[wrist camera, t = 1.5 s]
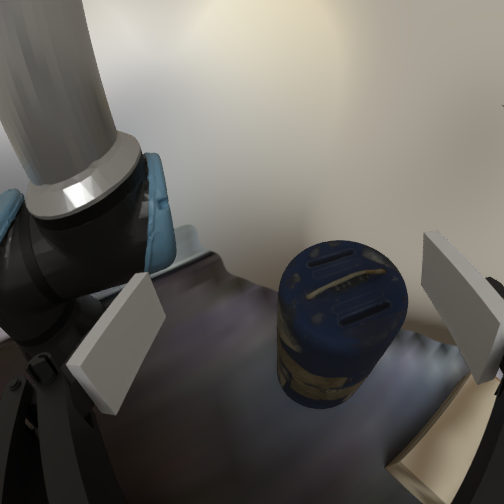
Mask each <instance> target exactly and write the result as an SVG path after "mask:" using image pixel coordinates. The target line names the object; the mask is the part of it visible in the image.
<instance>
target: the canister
mask: <svg viewBox="0 0 504 504" xmlns="http://www.w3.org/2000/svg"><path fill="white" fill-rule="evenodd" d="M407 308H408V294H407V289H406V285H405V282H404V280H403V278H402V276H401V274H400V272H399V271H398V269H397V268H396V266H395V265H394V264H393V263H392V262H391V261H390V260H389V259H388V258H387V257H385V255H383V254H382V253H380V252H379V251H377V250H375V249H373V248H371V247H369V246H366V245H364V244H361V243H357V242H352V241H343V240H336V241H328V242H322V243H319V244H316V245H314V246H311V247H309V248H307V249H305V250H304V251H302V252H301V253H299V254H298V255H297V256H296V257H295V258H294V259H293V260H292V261H291V262H290V263H289V265H288V266H287V268H286V270H285V271H284V273H283V275H282V278H281V281H280V286H279V292H278V318H277V345H278V349H277V350H278V353H277V372H278V378H279V381H280V384H281V386H282V388H283V390H284V391H285V393H286V394H287V395H288V396H289V397H290V398H291V399H292V400H294V401H295V402H297V403H299V404H301V405H303V406H305V407H308V408H314V409H326V408H331V407H334V406H337V405H339V404H341V403H343V402H344V401H346V400H347V399H349V398H350V397H351V396H352V395H353V394H354V393H355V391H356V390H357V389H358V388H359V386H360V385H361V384H362V383H363V381H364V380H365V379H366V378H367V376H368V375H369V374H370V372H371V371H372V370H373V368H374V367H375V365H376V363H377V362H378V361H379V359H380V358H381V357H382V355H383V354H384V352H385V351H386V350H387V348H388V347H389V345H390V344H391V342H392V341H393V340H394V338H395V337H396V335H397V334H398V332H399V330H400V328H401V326H402V325H403V323H404V320H405V317H406V314H407Z"/></svg>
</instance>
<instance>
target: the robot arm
mask: <svg viewBox="0 0 504 504" xmlns="http://www.w3.org/2000/svg"><path fill="white" fill-rule="evenodd" d="M0 121H1V123H2V125H3V127H4V129H5V132H6V134H7V136H8V138H9V140H10V142H11V144H12V146H13V148H14V150H15V152H16V154H17V156H18V158H19V160H20V162H21V164H22V166H23V168H24V170H25V172H26V173H27V175H28V177H29V179H30V182H29V185H28V189H27V192H26V197H25V200H24V195H23V194H22V193H20V191H19V190H18V189H9V190H7V191H5V192H3V193H2V194H0V327H1V328H2V329H3V330H4V331H5V332H6V333H7V334H8V335H9V336H10V337H11V338H12V339H13V340H14V341H15V342H16V343H17V344H18V345H19V347H20V349H21V351H22V353H23V354H24V356H25V358H26V360H27V362H28V364H27V366H26V371H27V372H28V374H29V375H30V376H31V378H32V379H33V380H34V382H35V383H30V382H29V381H28V380H27V378H26V377H25V376H24V375H17V376H14V377H12V378H11V379H10V380H9V382H8V383H7V384H6V386H5V389H4V392H3V395H2V398H1V401H0V504H126V502H125V500H124V497H123V495H122V492H121V490H120V488H119V485H118V483H117V480H116V477H115V475H114V472H113V469H112V467H111V464H110V461H109V458H108V455H107V452H106V449H105V446H104V443H103V440H102V437H101V433H100V430H99V427H98V423H97V420H96V416H95V414H94V412H93V411H92V410H91V409H92V407H93V405H94V404H95V405H96V406H97V408H98V409H99V410H100V411H101V413H105V414H111V415H117V413H118V411H119V409H120V407H121V405H122V403H123V400H124V398H125V396H126V394H127V392H128V390H129V388H130V386H131V384H132V382H133V380H134V378H135V376H136V374H137V372H138V370H139V368H140V366H141V364H142V362H143V360H144V358H145V356H146V355H147V353H148V351H149V349H150V347H151V345H152V343H153V341H154V339H155V337H156V335H157V333H158V331H159V329H160V328H161V326H162V324H163V322H164V320H165V318H166V315H165V313H164V310H163V308H162V306H161V303H160V301H159V298H158V296H157V293H156V291H155V288H154V286H153V283H152V281H151V278H150V276H149V275H150V274H153V273H155V272H158V271H160V270H163V269H166V268H167V267H169V266H170V265H171V264H172V263H173V262H174V260H175V258H176V241H175V234H174V228H173V222H172V216H171V211H170V207H169V204H168V195H167V188H166V182H165V177H164V172H163V167H162V162H161V159H160V156H159V155H158V154H157V153H145V154H142V151H141V148H140V145H139V143H138V141H137V140H136V138H135V137H133V136H131V135H129V134H126V133H123V132H120V131H117V130H116V127H115V125H114V121H113V118H112V115H111V112H110V109H109V105H108V102H107V99H106V95H105V92H104V88H103V85H102V81H101V78H100V74H99V71H98V67H97V63H96V60H95V56H94V52H93V48H92V44H91V40H90V36H89V31H88V27H87V23H86V18H85V13H84V9H83V4H82V0H0ZM423 242H424V243H423V264H422V279H421V285H422V287H423V288H424V290H425V292H426V293H427V295H428V296H429V298H430V300H431V301H432V303H433V305H434V306H435V308H436V310H437V311H438V313H439V314H440V316H441V318H442V320H443V321H444V323H445V325H446V326H447V328H448V330H449V332H450V334H451V335H452V337H453V339H454V341H455V343H456V345H457V346H458V348H459V350H460V352H461V354H462V356H463V358H464V360H465V362H466V364H467V365H468V367H469V369H470V371H471V373H472V375H473V378H474V380H475V382H476V384H477V385H480V384H482V383H485V382H488V381H491V380H493V379H494V378H495V376H496V374H497V372H498V369H499V367H500V369H501V371H502V373H503V374H504V286H503V285H502V284H501V283H500V282H498V281H497V280H495V279H493V278H491V277H488V278H484V277H483V276H482V275H481V273H480V272H478V270H477V269H476V268H475V267H474V266H473V265H472V264H471V263H470V262H469V261H468V260H467V259H466V258H465V257H464V256H463V255H462V254H461V253H460V252H459V251H458V250H457V249H456V248H455V247H454V246H453V245H452V244H451V243H450V242H449V241H448V240H447V239H446V238H445V237H444V236H443V235H442V234H441V233H440V232H439V231H431V232H424V240H423ZM125 283H127V285H126V286H125V287H124V288H123V289H122V291H121V292H120V293H119V294H118V296H117V297H116V298H115V299H114V301H113V302H112V303H111V305H110V306H109V307H108V308H107V309H106V308H105V307H104V305H103V304H102V303H101V302H100V301H98V300H97V299H95V298H94V297H92V296H91V295H89V294H92V293H95V292H99V291H102V290H105V289H109V288H112V287H115V286H119V285H122V284H125ZM494 395H497V396H496V399H495V402H494V406H493V409H492V412H491V415H490V418H489V421H488V423H487V426H486V429H485V432H484V434H483V437H482V439H481V442H480V444H479V447H478V449H477V452H476V454H475V456H474V458H473V461H472V463H471V465H470V467H469V469H468V471H467V474H466V476H465V478H464V480H463V482H462V484H461V486H460V487H459V489H458V491H457V493H456V495H455V497H454V499H453V500H452V502H451V504H504V375H503V377H502V379H501V382H500V384H499V386H498V388H497V390H496V392H495V394H494ZM25 418H27V420H28V421H29V422H30V423H31V424H32V427H31V429H30V428H29V427H28V426H27V425H26V424H25Z"/></svg>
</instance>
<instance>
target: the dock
mask: <svg viewBox="0 0 504 504" xmlns="http://www.w3.org/2000/svg"><path fill="white" fill-rule="evenodd" d="M500 382H501V381H500V380H499V379H498V378H497V377H496V376H495V378H494V379H493V380H491V381H488V382H485V383H482V384H480V385H477V384H476V382H475V380H474V378H473V375H472V373H471V371H470V372H469V373H468V374H467V375H466V376H464V377H463V378H462V379H461V380H460V381H459V383H458V384H457V385H456V387H455V388H454V390H453V391H452V392H451V394H450V395H449V396H448V398H447V399H446V400H445V402H444V403H443V404H442V405H441V407H440V408H439V409H438V410H437V412H436V413H435V414H434V415H433V417H432V418H431V419H430V420H429V421H428V423H427V424H426V425H425V426H424V427H423V428H422V430H421V431H420V432H419V433H418V434H417V435H416V436H415V437H414V438H413V440H412V441H411V442H410V443H409V444H408V445H407V446H406V447H405V448H404V449H403V450H402V451H401V452H400V453H399V454H398V455H397V456H396V457H395V458H394V459H393V460H392V461H391V462H390V463H389V464H388V465H387V466H386V467H385V469H386V470H387V471H388V472H389V473H390V474H391V475H392V476H393V477H395V478H396V479H397V480H398V481H399V482H400V483H401V484H402V485H403V486H404V487H405V488H406V489H407V490H408V491H410V492H411V493H412V494H413V495H414V496H415V497H416V498H417V499H418V500H419V501H421V502H422V503H423V504H451V502H452V500H453V499H454V497H455V495H456V493H457V491H458V489H459V487H460V486H461V484H462V482H463V480H464V478H465V476H466V474H467V471H468V469H469V467H470V465H471V463H472V461H473V458H474V456H475V454H476V452H477V449H478V447H479V444H480V442H481V439H482V437H483V434H484V432H485V429H486V426H487V423H488V421H489V418H490V415H491V412H492V409H493V406H494V402H495V399H496V396H497V395H494V394H495V392H496V390H497V388H498V386H499V384H500Z"/></svg>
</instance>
